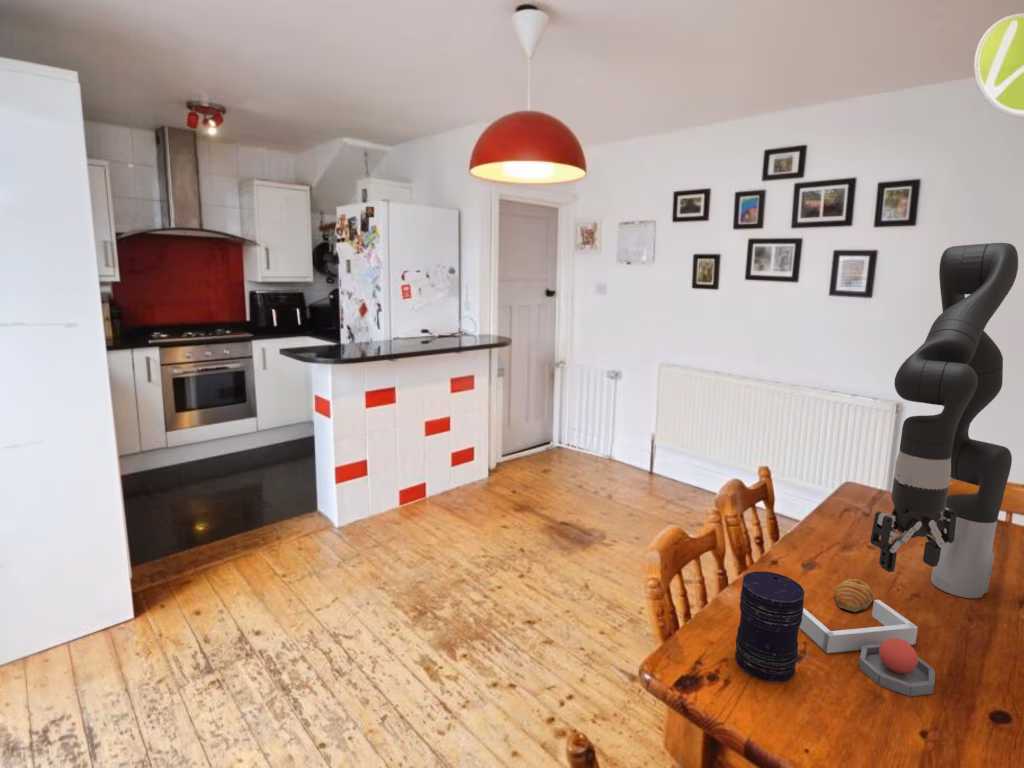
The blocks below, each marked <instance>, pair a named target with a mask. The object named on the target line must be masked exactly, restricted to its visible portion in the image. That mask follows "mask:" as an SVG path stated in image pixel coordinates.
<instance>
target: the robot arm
mask: <svg viewBox="0 0 1024 768" xmlns="http://www.w3.org/2000/svg"><path fill="white" fill-rule="evenodd" d="M1018 269H1019V254H1018V250H1017V248H1016V246H1015V245H1013V244H1011V243H1009V242H991V243H990V242H989V243H976V244H975V243H973V244H964V245H963V244H962V245H954V246H950V247H948V248H946V249H945V250H944V251H943V253H942V254H941V257H940V262H939V271H938V273H939V289H940V298H941V307H942V309H941V310H942V313H940V315H938V316H937V318H936V319H935V320H934V321H933V323H932V325H931V327H930V329H929V331H928V333H927V336H926V339H925V341H924V343H922V344H921V345H920V346H919V347H918V348H917V349H916V350H915V351H914V352H913V353H911V355H909V356H908V357H907V358H906V359H905V360H904V361H903V363H902V364H900V366H899V368H898V370H897V372H896V374H895V377H894V390H895V392H896V393H897V395H898V396H899V397H900V398H902V399H903V400H905V401H908V402H912V403H913V402H914V403H920V404H921V403H922V404H929V405H934V406H942V407H943V409H942V411H941V412H940V413H938V414H937V413H936V414H931V415H913V416H909V417H907V418H905V420H904V421H903V423H902V428H901V436H900V443H899V444H900V445H899V451H898V455H897V457H896V460H895V466H894V473H893V474H894V475H893V479H892V480H893V481H892V490H891V495H890V496H891V497H890V499H891V501H892V503H893V506H894V507H893V508H892V509H893V510H892V512H891V513H884V512H881V511H877V512H876V511H875V514H874V519H873V525H872V530H871V535H870V541H869V542H870V544H872V545H873V546H874V547H876V548H878V549H880V554H879V561H878V562H879V566H880V568H882V569H883V570H885V571H887V572H888V573H893V572H895V568H896V562H897V561H896V560H897V550H898V549H899V548H900V547H901V545H905V544H907V542H908V541H909V540H910V539H914V538H916V537H920V538H921V537H924V538H925V540H926V541H925V543H924V550H923V557H922V561H923V563H924V564H926V565H928V566H929V567H931V568H932V570H931V577H930V582H931V583H932V585H933V586H935V587H936V588H937V589H939V590H941V591H942V592H945V593H946V594H947V593H948V594H950V595H952V596H957V597H960V598H965V599H980V598H982V597H983V596H984V594H987V593H988V590H989V585H990V579H991V575H992V571H993V564H994V560H995V555H996V554H995V551H993V546H994V540H995V535H996V531H997V530H996V529H997V525H998V520H999V514H1000V511H1001V507H1002V504H1003V501H1004V495H1005V491H1006V487H1007V483H1008V480H1009V476H1010V472H1011V468H1012V461H1013V458H1012V453H1011V450H1010V449H1009V448H1008V447H1007V446H1003V445H999V444H996V443H990V442H986V441H981V440H978V439H977V440H976V439H973V438H970V436H969V430H970V425H971V423H972V422H973V420H974V419H975V418H976V416H978V414H980V413H981V412H982V411H983V410H984V409H985V408H986V407H988V405H989V404H990V403H992V402H993V400H994V399H995V398H996V397H997V396H998V394H999V393H1000V392H1001V391H1002V387H1003V375H1004V373H1003V372H1004V368H1003V367H1004V358H1003V357H1004V356H1003V354H1002V352H1001V350H1000V349H999V346H998V345H997V344H996V343H995V342H994V340H993V339H992V337H990V336H989V334H988V333H987V332H986V331H985V328H986V327H987V324H988V323H989V321H990V320H991V318H992V317H993V316H994V314H995V313H996V312H997V311H998V309H999V307H1000V306H1001V304H1002V303H1003V302H1004V300H1005V298H1006V297H1007V296H1008V294H1009V292H1010V291H1011V290H1012V287H1014V284H1015V281H1016V278H1017V275H1018V271H1019V270H1018ZM966 295H968V296H966ZM950 479H953V480H956V481H961V482H963V483H966V484H967V483H968V484H971V485H975V486H978V490H977V492H974V493H954V494H949V495H948V493H949V488H950ZM896 530H897V531H898V532H899V533H900V534H898V533H896ZM893 539H894V540H893ZM892 540H893V541H892ZM891 541H892V542H891ZM890 542H891V543H890Z"/></svg>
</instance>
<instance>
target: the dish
mask: <svg viewBox="0 0 1024 768" xmlns="http://www.w3.org/2000/svg"><path fill="white" fill-rule="evenodd" d="M880 645H881V644H872V645H863V646H862V650H861V651H860V656H859V660H858V661H859V662H858V668H859V669H860V671H862V672H863V673H864V674H865V675H866V676H868V678H870V680H872V681H873V682H874V683H876V685H878V686H880V687H882V688H885V689H888V690H890V691H893V692H896V693H900V694H902V695H904V696H907V697H918V696H925V695H933V694H934V689H935V683H936V682H935V678H936V677H935V676H936V675H935V674H936V673H935V672H936V671H935V669H934V668H933V667H932V665H929V664H928V663H927V662H926V661H924V660H923V659H921V657H919V656H918V655H917V657H918V663H917V666H916V668H915V669H914V670H913V671H912V672H910V673H906V674H900V673H896V672H893V671H891V670H890V669H888V668H887V667H886V666H885V665H884V664H883V662H882V661H881V659H880V656H879V648H880Z"/></svg>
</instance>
